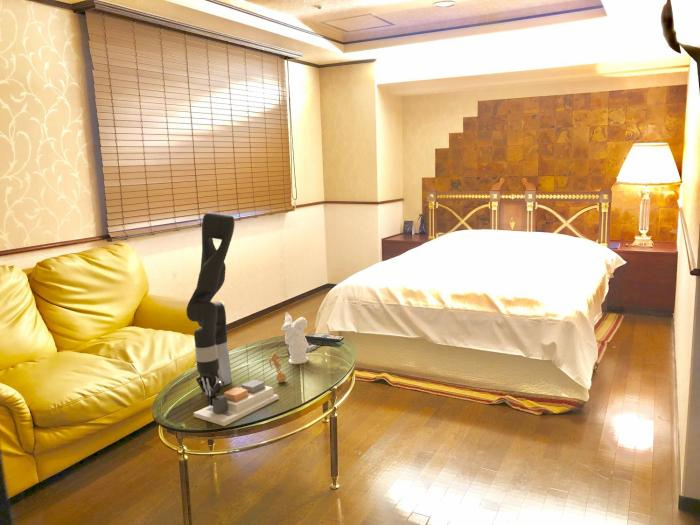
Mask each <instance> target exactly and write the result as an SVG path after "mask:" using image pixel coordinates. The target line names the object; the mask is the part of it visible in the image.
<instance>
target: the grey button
mask: <svg viewBox="0 0 700 525" xmlns="http://www.w3.org/2000/svg"><path fill="white" fill-rule="evenodd" d="M265 386H266V383H265V381H261V380H258V379H251V380H249V381H247V382H244V383H242V384H241V387H242V389H246V390H248V393H252V394H254V393H256V392H258V391H260V390H262V389H264V388H265Z"/></svg>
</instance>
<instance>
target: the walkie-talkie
mask: <svg viewBox="0 0 700 525" xmlns="http://www.w3.org/2000/svg"><path fill="white" fill-rule="evenodd" d="M308 344H309V347H308V348H306V353H310V352H312V351H314V350H316V348H317V347H319V346H320V345H317V346H316V347H315V345H316V344H312V343H311V342H308ZM313 347H314V348H313ZM286 350H287V355H289V356H291V355H290V353H289V348H287V349H286Z"/></svg>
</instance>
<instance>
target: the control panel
mask: <svg viewBox="0 0 700 525" xmlns="http://www.w3.org/2000/svg"><path fill="white" fill-rule="evenodd" d="M240 388H242V386H241V387H240ZM222 395H223V396H224V394H222ZM277 400H279V395H278V394H276V393H274V388H273V387H272V386H268V385H265V388H264V389H262V390H260V391H258V392H256V393H254V394H252V393H248V396H247V397H245V398H243V399H241V400H239V401H237V402H233V401H229V400H227V404H228V410H227V411H225V412H223V413H221V414H216V413H214V412H213V406H211V405H209V404H208V406H205V407H203V408H201V409H199V410H197V411H193V417H194V418H197V419H200V420H204V421H207V422H210V423H213V424H216V425H220V426H223V427H225V426H227V425H229V424H231V423H233V422H235V421H238V420H240V419H241V418H243V417H245V416H247V415H249V414H251V413H254V412H255V411H257V410H259V409H261V408H263V407H265V406H267V405H269V404H271V403H273V402H275V401H277Z"/></svg>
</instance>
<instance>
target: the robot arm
mask: <svg viewBox="0 0 700 525" xmlns="http://www.w3.org/2000/svg"><path fill="white" fill-rule="evenodd" d="M234 231H235V218H234V216H233V215H230V214H225V213H220V212H215V211H214V212H213V211H208V212H205V213H204V215H203V217H202V222H201V262H200V271H199V274H198V278H197V283H196V287H195V289H194V292H193V293H192V295H191V298H190V299H189V301H188V303H187V306H186V316H187V319H188V320H189V321H191V322H194V323H197V324H198V326H199V327H200V328H199V327H198V328H197V329H195V330H194V334H193V336H194V345H195V346H194V347H195V353H194V354H195V360H196V371H197V373H198V374H199V376H198V377H196V379H195V380H196V382H197V384H198V385H199V388H200V389H201V391H202V393H204V394H205V395H206V397H207V403H208V406H209V405H211V406H213V403H212V399H213V398H215V397H217V396H216V395H217V394H220V393H221V391H222V389H223V387H224V386H228V385H229V384H231V383H232V381H233V380H232V372H231V371H232V370H231V362H230V354H229V353H230V352H229V345H228V332H227V331H228V330H227V329H228V328H227V314H226V308H225V306H224V304H223V303H222V302H221V301H218V302H212V300H213V298H214V297H215V295H216V294H217V293H218V292H219V291H220V289H221V288H222V287H223V285H224V283H225V280H226V279H225V278H226V270H227V269H226V268H227V267H226V263H225V260H226V256H227V254H228V252H229V248H230V245H231V242H232V238H233V235H234ZM214 239H216V240H221V241H220V244H219V246H218V248H216V246H215V243H214Z"/></svg>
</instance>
